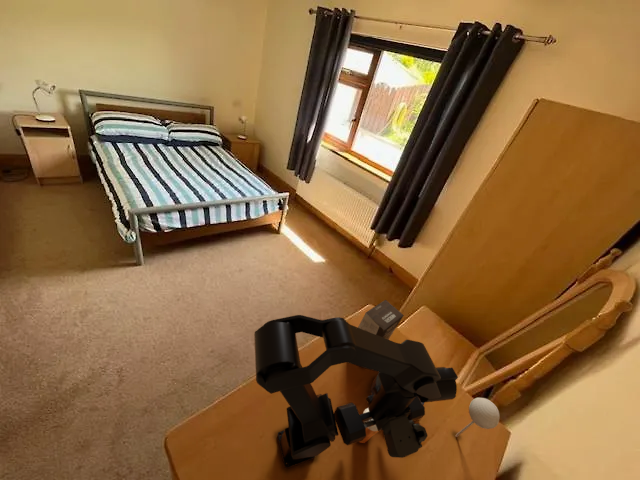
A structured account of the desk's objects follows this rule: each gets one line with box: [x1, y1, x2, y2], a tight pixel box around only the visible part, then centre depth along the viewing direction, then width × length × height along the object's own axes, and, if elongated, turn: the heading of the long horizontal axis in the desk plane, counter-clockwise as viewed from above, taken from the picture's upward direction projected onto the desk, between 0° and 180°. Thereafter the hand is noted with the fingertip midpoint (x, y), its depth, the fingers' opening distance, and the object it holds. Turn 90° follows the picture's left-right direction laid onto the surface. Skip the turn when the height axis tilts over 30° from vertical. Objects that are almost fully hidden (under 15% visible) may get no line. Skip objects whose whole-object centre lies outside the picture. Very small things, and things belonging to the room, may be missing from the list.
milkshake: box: [358, 407, 379, 444], centre depth 65 cm, size 4×5×10 cm
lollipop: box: [454, 397, 501, 438], centre depth 69 cm, size 6×6×15 cm
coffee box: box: [358, 299, 404, 340], centre depth 81 cm, size 9×6×16 cm
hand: (367, 430), depth 66 cm, fingers open, 9 cm apart
